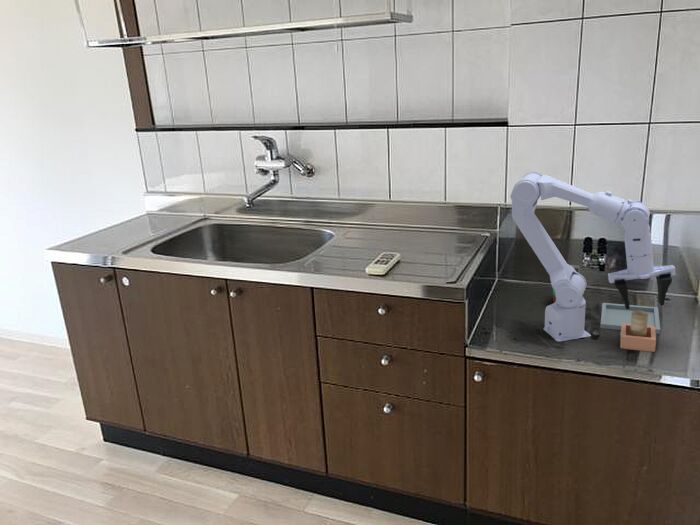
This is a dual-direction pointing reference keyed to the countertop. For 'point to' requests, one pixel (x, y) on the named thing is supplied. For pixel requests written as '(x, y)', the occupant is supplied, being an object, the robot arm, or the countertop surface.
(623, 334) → the terracotta square open box
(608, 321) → the slate tray
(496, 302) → the countertop surface
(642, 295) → the countertop surface
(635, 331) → the beech dowel
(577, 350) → the countertop surface
